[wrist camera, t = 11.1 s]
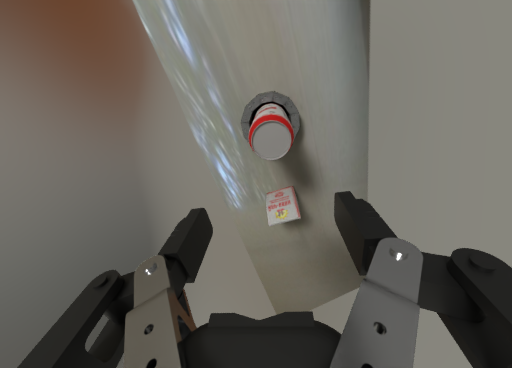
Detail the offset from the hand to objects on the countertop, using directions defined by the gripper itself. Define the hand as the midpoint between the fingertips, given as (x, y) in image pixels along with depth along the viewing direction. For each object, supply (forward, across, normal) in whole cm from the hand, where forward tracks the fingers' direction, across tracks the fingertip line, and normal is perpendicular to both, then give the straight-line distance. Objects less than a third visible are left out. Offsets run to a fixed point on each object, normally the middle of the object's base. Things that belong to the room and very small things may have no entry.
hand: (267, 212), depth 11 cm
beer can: (+30, 0, 0) cm, 30 cm away
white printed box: (+30, 0, +18) cm, 35 cm away
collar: (+30, 0, 0) cm, 30 cm away
